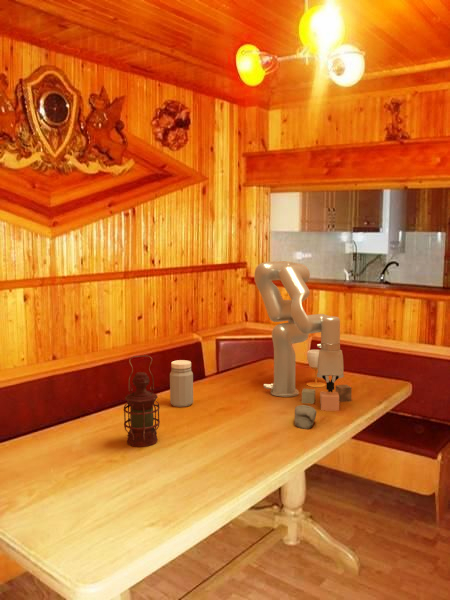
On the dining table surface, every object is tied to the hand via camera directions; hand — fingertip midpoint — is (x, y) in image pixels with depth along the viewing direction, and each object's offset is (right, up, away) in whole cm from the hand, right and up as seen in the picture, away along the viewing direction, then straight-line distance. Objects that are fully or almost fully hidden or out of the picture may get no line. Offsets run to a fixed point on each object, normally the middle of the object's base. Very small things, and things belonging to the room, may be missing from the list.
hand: (330, 391), depth 229 cm
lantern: (-71, -12, -36) cm, 81 cm away
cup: (0, -3, +37) cm, 37 cm away
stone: (-13, -10, -19) cm, 25 cm away
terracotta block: (0, -7, +1) cm, 7 cm away
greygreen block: (-7, -6, +10) cm, 14 cm away
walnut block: (+8, -6, +12) cm, 16 cm away
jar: (-61, -7, +7) cm, 62 cm away
